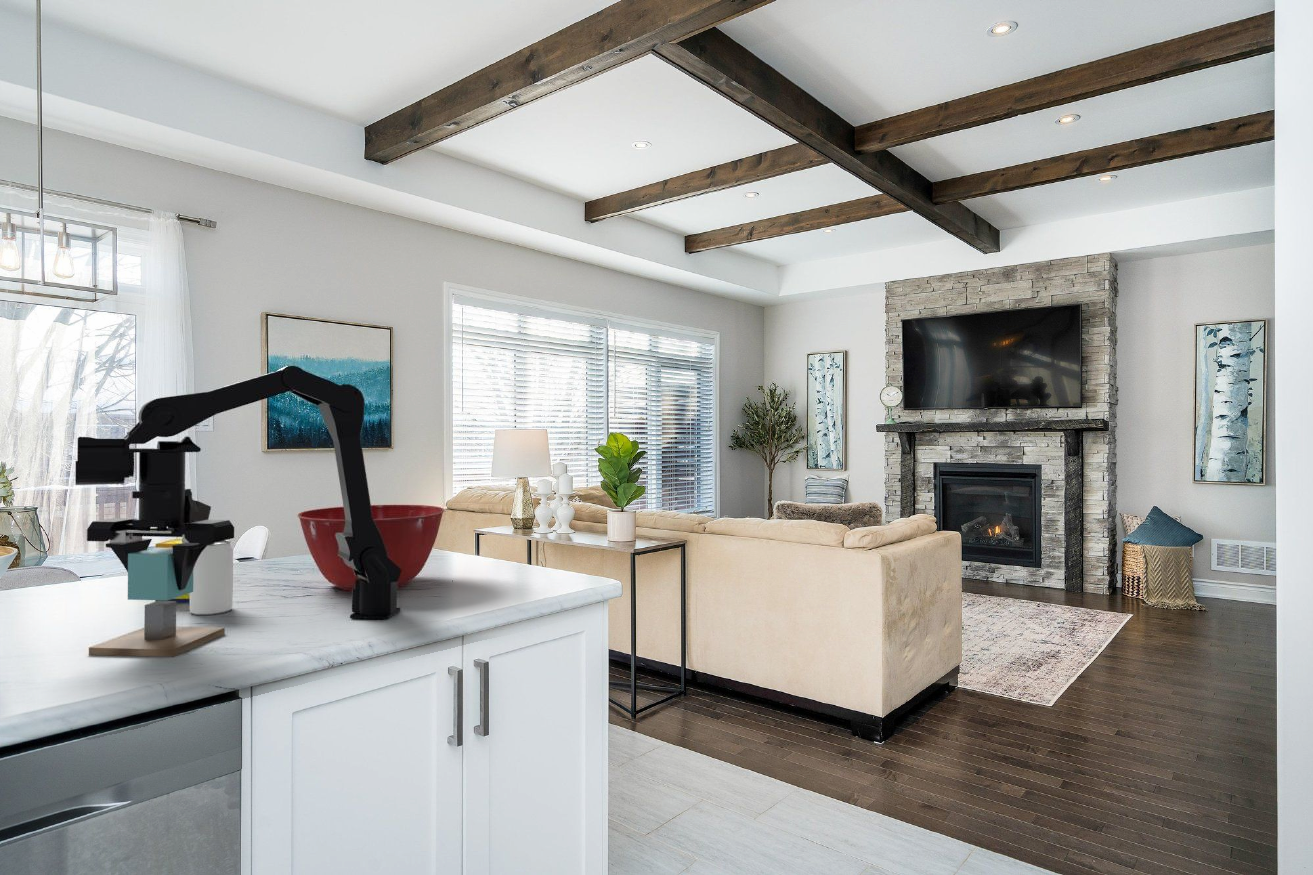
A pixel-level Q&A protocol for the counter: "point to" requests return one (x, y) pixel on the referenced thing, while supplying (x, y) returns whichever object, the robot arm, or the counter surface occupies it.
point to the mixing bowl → (401, 530)
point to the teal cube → (154, 575)
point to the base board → (157, 642)
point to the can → (213, 580)
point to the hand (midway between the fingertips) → (161, 589)
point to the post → (160, 620)
